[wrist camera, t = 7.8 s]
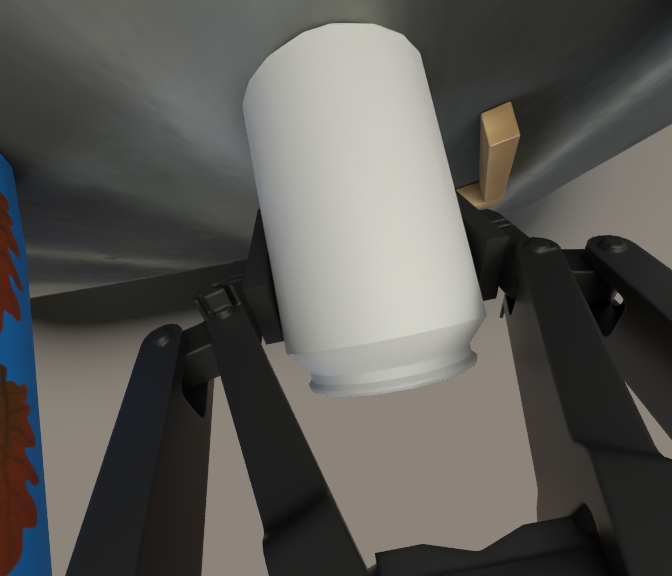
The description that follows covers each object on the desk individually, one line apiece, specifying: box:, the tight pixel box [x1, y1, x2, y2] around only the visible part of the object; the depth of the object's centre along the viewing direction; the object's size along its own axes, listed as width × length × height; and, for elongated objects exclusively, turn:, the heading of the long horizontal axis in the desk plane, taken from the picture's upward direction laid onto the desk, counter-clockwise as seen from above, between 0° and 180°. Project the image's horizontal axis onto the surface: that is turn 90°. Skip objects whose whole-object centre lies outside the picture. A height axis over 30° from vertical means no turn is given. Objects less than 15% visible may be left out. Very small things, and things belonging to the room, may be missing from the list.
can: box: [242, 23, 486, 397], centre depth 12 cm, size 8×8×12 cm
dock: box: [456, 102, 520, 209], centre depth 25 cm, size 15×12×2 cm
